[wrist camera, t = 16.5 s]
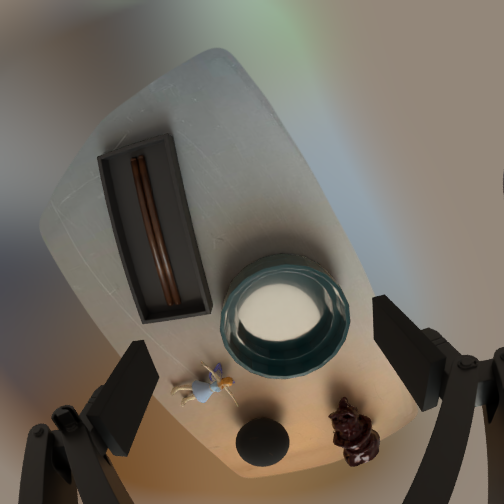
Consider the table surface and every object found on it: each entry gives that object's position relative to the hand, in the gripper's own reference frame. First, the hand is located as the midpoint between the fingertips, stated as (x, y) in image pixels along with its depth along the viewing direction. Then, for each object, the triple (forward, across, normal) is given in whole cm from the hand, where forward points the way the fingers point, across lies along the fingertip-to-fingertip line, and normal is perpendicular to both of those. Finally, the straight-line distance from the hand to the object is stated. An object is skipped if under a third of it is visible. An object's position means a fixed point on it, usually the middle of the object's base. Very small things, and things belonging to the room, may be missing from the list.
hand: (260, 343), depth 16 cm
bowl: (+29, +2, -12) cm, 31 cm away
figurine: (+29, +11, -40) cm, 51 cm away
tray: (+29, -14, +4) cm, 32 cm away
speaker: (+29, -6, -37) cm, 47 cm away
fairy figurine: (+29, -14, -24) cm, 40 cm away
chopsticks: (+28, -14, +4) cm, 32 cm away
